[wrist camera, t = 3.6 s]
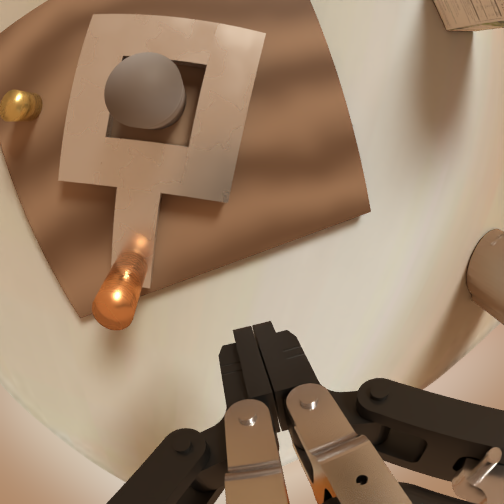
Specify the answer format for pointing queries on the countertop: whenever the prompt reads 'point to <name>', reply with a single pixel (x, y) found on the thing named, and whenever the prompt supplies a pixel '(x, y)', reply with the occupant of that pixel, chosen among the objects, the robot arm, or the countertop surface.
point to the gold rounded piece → (20, 106)
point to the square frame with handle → (155, 153)
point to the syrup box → (471, 14)
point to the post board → (182, 141)
